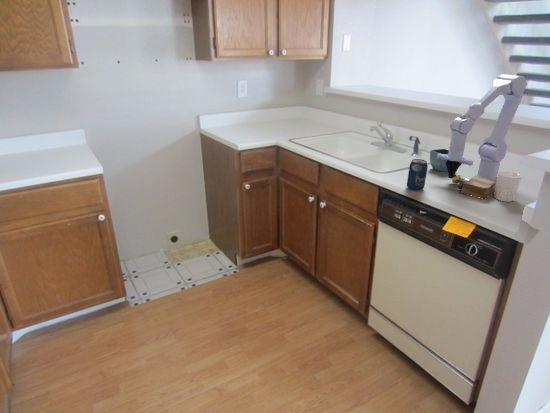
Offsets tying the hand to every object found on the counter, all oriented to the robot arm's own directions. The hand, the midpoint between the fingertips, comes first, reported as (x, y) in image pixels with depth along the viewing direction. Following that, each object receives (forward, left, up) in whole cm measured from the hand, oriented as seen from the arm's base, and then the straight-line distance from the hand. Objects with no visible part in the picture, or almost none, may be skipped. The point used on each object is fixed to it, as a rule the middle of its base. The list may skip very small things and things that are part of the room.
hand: (450, 177), depth 165 cm
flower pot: (-15, -11, -2) cm, 19 cm away
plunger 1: (0, +6, -2) cm, 6 cm away
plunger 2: (+6, +11, -2) cm, 13 cm away
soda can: (+18, -7, -2) cm, 20 cm away
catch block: (+3, +13, -2) cm, 14 cm away
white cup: (+3, +22, -2) cm, 23 cm away
